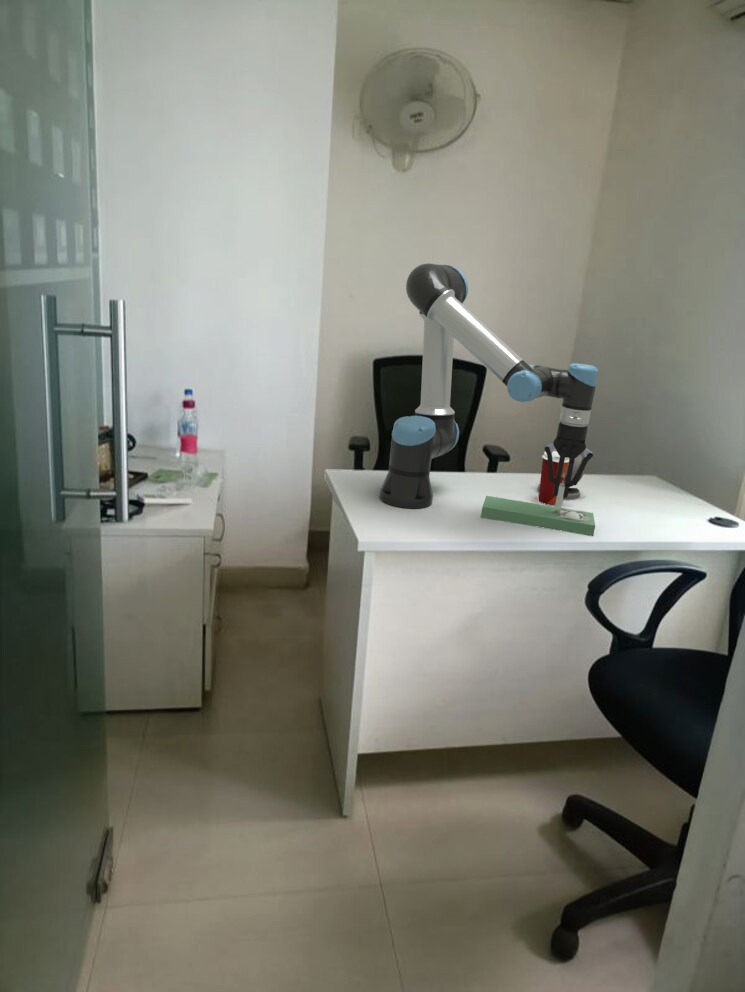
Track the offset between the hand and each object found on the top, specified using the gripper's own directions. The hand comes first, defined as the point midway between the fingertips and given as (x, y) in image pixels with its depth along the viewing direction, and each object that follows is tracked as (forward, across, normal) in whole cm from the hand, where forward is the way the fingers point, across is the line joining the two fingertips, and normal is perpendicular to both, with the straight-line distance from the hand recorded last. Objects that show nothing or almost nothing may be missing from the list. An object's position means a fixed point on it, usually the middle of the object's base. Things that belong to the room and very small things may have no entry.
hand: (557, 507), depth 194 cm
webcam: (+5, +1, +30) cm, 31 cm away
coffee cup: (+5, -2, +20) cm, 20 cm away
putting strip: (+5, -5, 0) cm, 7 cm away
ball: (+2, +4, 0) cm, 5 cm away
